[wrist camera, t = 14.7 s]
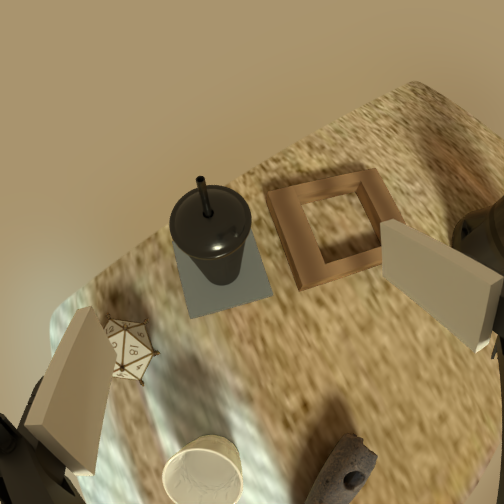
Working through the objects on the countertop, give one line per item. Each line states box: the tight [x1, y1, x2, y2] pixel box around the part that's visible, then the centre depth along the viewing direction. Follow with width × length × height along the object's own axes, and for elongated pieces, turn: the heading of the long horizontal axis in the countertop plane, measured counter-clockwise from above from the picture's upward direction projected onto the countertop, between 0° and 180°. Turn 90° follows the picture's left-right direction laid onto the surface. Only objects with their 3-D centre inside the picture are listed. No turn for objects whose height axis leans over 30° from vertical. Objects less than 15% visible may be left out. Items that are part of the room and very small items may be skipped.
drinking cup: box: [169, 176, 252, 286], centre depth 32 cm, size 8×8×20 cm
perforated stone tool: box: [304, 433, 378, 504], centre depth 28 cm, size 15×5×7 cm, turn 150°
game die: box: [103, 313, 160, 386], centre depth 34 cm, size 9×8×10 cm
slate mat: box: [172, 229, 273, 319], centre depth 42 cm, size 11×11×1 cm
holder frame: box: [266, 168, 406, 291], centre depth 43 cm, size 18×14×3 cm
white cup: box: [162, 435, 243, 504], centre depth 28 cm, size 8×8×10 cm
